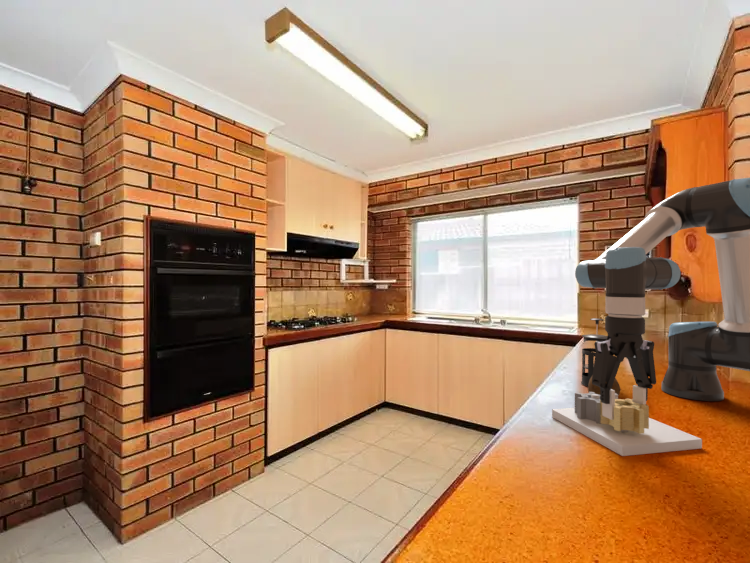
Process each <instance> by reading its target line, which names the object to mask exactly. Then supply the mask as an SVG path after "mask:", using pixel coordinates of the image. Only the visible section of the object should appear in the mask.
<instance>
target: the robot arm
mask: <svg viewBox="0 0 750 563" xmlns="http://www.w3.org/2000/svg"><path fill="white" fill-rule="evenodd" d="M704 227H705V233H706V235H708V236H709V237H711V238H713V241H714V247H715V255H716V261H717V262H716V263H717V270H718V277H719V278H718V279H719V284H720V294H721V300H722V302H721V303H722V310H723V316H724V317H723V318H724V319H723V320H721V321H720V322H719V323H717V322H716V321H681V322H673V323H671V324H670V325H669V326H668V335H667V337H668V346H667V347H668V350H667V352H668V353H667V354H668V365H667V366H668V367H667V369H666V371H665V374H664V376H663V379H662V381H661V391H663V392H664V393H665V394H669V395H671V396H675V397H679V398H683V399H687V400H688V399H689V400H694V401H703V402H704V401H705V402H720V401H724V399H725V392H724V389H723V387H722V384H721V381H720V379H719V377H718V374H717V367H723V368H729V369H735V370H740V371H741V370H742V371H746V372H750V177H745V178H743V177H742V178H734V179H731V180H725V181H720V182H716V183H711V184H706V185H700V186H694V187H691V188H686V189H684V190H683V189H682V190H680V191H679V192H676V193H675V194H673V195H670V196H668V197H667V198H665V199H664V200H662V201H660V202H659V203H657V204H656V205H655V206H653V207H652V208H651V209H650V210H648V211H647V212H646V213H645V216H644V219H643V220H642V221H640V222H639V223H638V224H637V225H635V226H634V227H633V228H631V229H630V231H628V232H627V233H626V234H625V235H623V237H621V238H620V239H618V241H616V242H614V244H613V245H611V246H610V247H609V248H607V250H605V251H604V252H602V254H600V255H599V256H598V257H597V258H596V259H593V260H592V259H588V260H583V261H581V262H578V264H577V266H576V267H575V270H574V272H575V273H574V275H575V279H576V281H577V284H579V286H581V287H583V288H593V289H605V303H604V304H605V305H604V306H605V308H604V309H605V313H606V314H607V315H606V316H605V317H604V330H605V331H606V334H607V335H606V336H607V338H606V341H603V342H598V341H594V344H593V345H594V348H595V350H596V352H595V356H594V369H593V376H592V384H593V385H596V386H599V387H600V401H601V402H602V416H604V417H607V418H609V419H611V420H614V407H615V390H612V389H611V388H612V386H613V383H614V380H615V378H616V377H617V374H618V371H619V367H620V366H621V365H620V364H622V362H623V361H624V359H627V361H628V363H629V366H630V370H631V373H632V375H633V378H634V381H635V385H632V399H633V402H635V403H638V404H646V405H647V401H648V398H649V397H648V394H649V393H648V391H649V390H648V389H650V390H651V389H653V387H654V385H656V384H657V374H656V367H655V366H656V365H655V358H654V348H655V342H654V341H652V340H646V339H643V337H642V335H644V334H645V333H646V318H645V317H643V316H644V315H646V290H658V291H659V290H661V291H662V290H663V289H665V290H666V289H669V288H672V287H674V286H675V285H676V284H677V283H678V282H679V281H680V278H681V274H682V273H681V269H680V267H679V266H680V265H678V264H677V262H675V261H674V260H672V259H669V258H665V257H661V256H660V257H647V255H648V254H649V253H650V252H651V251H652V250H653V249H654V248H655V247H656V246H658V244H660V243H661V242H662V241H663V240H664V239H665V238H666V237H670V236H673V235H675V234H677V233H678V232H679V231H681V230H686V229H693V228H704ZM606 382H607V383H606Z"/></svg>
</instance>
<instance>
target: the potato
mask: <svg viewBox="0 0 750 563" xmlns="http://www.w3.org/2000/svg"><path fill="white" fill-rule="evenodd" d="M592 376H593V375H592ZM606 383H607V382H606ZM620 386H621V385H620V383H619V381H618V380H617V378H616V377H615V380H614V383H613V386H612V388H611V389H612V390H615V393H616V394H618V397H619V396H620V394H621V391H622V389H621V387H620ZM587 391H588V392H587V393H589V392H594V393H595V394H599V395H600V387H599V386H596V385H593V384H592V377H591V378H590V380H589V384H588V387H587Z"/></svg>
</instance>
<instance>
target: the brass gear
mask: <svg viewBox="0 0 750 563" xmlns="http://www.w3.org/2000/svg"><path fill="white" fill-rule="evenodd" d="M649 407H650V406H649V405H648V404H647V403H646V404H638V403H635V402H633V398H625V399H624V398H623V399H621V398H618V399H615V407H614V420H611V419H609V418H607V417H604V416H602V402H601V401H600V423H601V424H609V425H611V426H613V427H614V430H617V431H621V430H630V431H635V432H637V433H639V434H641V433H644V428H646V429H649V418H650V416H649V415H650V413H649V412H650V410H649V409H650V408H649Z"/></svg>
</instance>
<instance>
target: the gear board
mask: <svg viewBox="0 0 750 563" xmlns="http://www.w3.org/2000/svg"><path fill="white" fill-rule="evenodd" d="M615 399H619V396H618V394H616V393H615ZM551 417H552V418H553V419H555V420H557V421H559V422H561V423H562V424H564V425H566V426H567V427H570V428H571V429H572V430H575V431H577V432H578V433H580V434H582V435H584V436H585V437H587V438H588V439H590V440H593V441H594V442H597V443H598V444H600V445H602V446H604V447H605V448H608V449H609V450H610V451H612V452H615V453H616V454H618V455H620V456H622V457H626V456H635V455H636V456H639V455H645V454H656V453H668V452H676V451H677V452H678V451H687V450H688V451H690V450H697V449H699V450H700V449H703V438H700V437H698V436H695V435H692V434H690V433H688V432H685V431H683V430H681V429H678V428H675V427H674V426H671V425H668V424H666V423H663V422H661V421H658V420H656V419H653V418H650V417H649V429H646V428H644V433H641V434H639V433H637V432H635V431H630V430H621V431H617V430H614V427H613V426H611V425H609V424H601V423H600V395H599V394H595V393H594V392H586V393H581V392H578V391H576V392H575V393H574V407H569V408H554V409H552V410H551Z"/></svg>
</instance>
